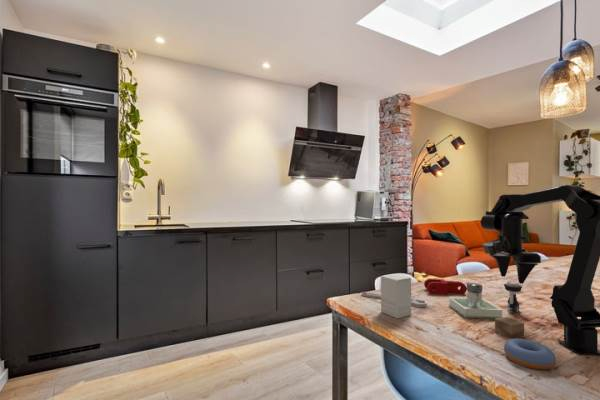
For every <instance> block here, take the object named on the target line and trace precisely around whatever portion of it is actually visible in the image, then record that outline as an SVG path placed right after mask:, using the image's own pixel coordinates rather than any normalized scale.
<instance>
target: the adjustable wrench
mask: <svg viewBox="0 0 600 400" xmlns="http://www.w3.org/2000/svg"><path fill="white" fill-rule="evenodd" d="M361 296H362V297H366V298H373V299H379V300H381V293H374V292H367V291H365V292H364V291H362V292H361ZM412 306H413V307H415V308H427V307H428V303H426V301H425V300H424V299H420V298H415V297H413V298H412V297H411V307H412Z"/></svg>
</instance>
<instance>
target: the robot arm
mask: <svg viewBox="0 0 600 400" xmlns="http://www.w3.org/2000/svg"><path fill="white" fill-rule="evenodd" d="M558 202H564V203H565V205H566V207H567V208H568V209H570V210H571V211H572V212H574V213H575V224H576V226H577V228H578V231H579V232H578V238H577V241H576V245H575V248H574V252H573V255H572V259H571V263H570V266H569V270H568V274H567V277H566V280H565V282H564V283H563V284H561V285H560V284H556V285H554V286H553V288H552V294H551V296H550V297H549V299H550V300H551V307H552V308H553V311H554V314H555V316H556V320H557V323H558V324H561V325H563V340H558V343H559V344H560V345H561V346H564V347H565V348H567V349H568V350H570V351H572V352H574V353H576V354H577V355H578V354H579V355H599V356H600V349H599V348H598V347H599V345H598V343H599V342H598V340H599V337H598V335H599V334H598V329H597V328H600V312H599V311H598V310H597V309H596V307H595V300H596V298H595V296H594V294H593V292H592V285H593V282H594V279H595V275H596V272H597V268H598V266H599V261H600V195H599V194H596V193H594V192H592V191H589V190H587V189H585V188H583V187H582V186H580V185H577V184H562V185H560V186H558V187H557V186H556V187H552V188H548V189H543V190H538V191H537V190H536V191H533V192H528V193H524V194H521V193H520V194H519V193H518V194H514V193H512V194H509V193H508V194H502V195H500V196H499V197H498V200H497V201H496V203H495V205H494V206H493V207H492V209H491V210H488V211H487V210H486V211H485V214H484V215H483V216H482V217H481V220H480V225H481V227H482V228H483V230H486V231H487V230H488V231H493V232H495V231H496V232H500V233H501V234H498V235H497V239H494V240H491V241H487V242H485V243H482V244H481V245H482V248H483V250H484V253H485V254H488V255H489V256H490V257H491V258H492V259H494V260H495V262H496V264H497V267H498V270H499V274H500V276H501V277H506V275H507V273H508V270H509V266H510V261H511V260H513V261H512V264H513V265H515V266H516V271H517V272H516V273H517V279H518V283H519V285H520V284H521V285H522V284H524V283H525V282H526V280H527V278H528V276H529V275H530V274H531V272H532V271H533V269H534V268H535V267H536V266H538V265H539V264H541V263H542V256H541V255H540V254H539V253H538V252H532V251H526V248H523V240H527V239H526V237H527V236H526V235H523V220H529V219H530V217H529V216H528V215H526V213H524V211H527V210H530V209H531V208H532V207H535V206H540V205H545V204H546V205H547V204H551V203H553V204H554V203H558Z"/></svg>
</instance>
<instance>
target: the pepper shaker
mask: <svg viewBox="0 0 600 400" xmlns="http://www.w3.org/2000/svg"><path fill="white" fill-rule="evenodd" d="M466 288H467V290H466V294H467V295H466V296H467V297H466V298H467V308H478V309H482V299H483V294H482V293H483V285H482V284H481V283H476V282H467V283H466Z"/></svg>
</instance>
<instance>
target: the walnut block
mask: <svg viewBox="0 0 600 400" xmlns="http://www.w3.org/2000/svg"><path fill="white" fill-rule="evenodd" d="M494 332H495V333H497V334H499V335H501V336H504V337H506V338H508V339H509V340H510V339H521V338H525V322H522V321H520V320H517V319H514V318H512V317H509V316H505V317H503V316H502V318H496V319H494Z"/></svg>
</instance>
